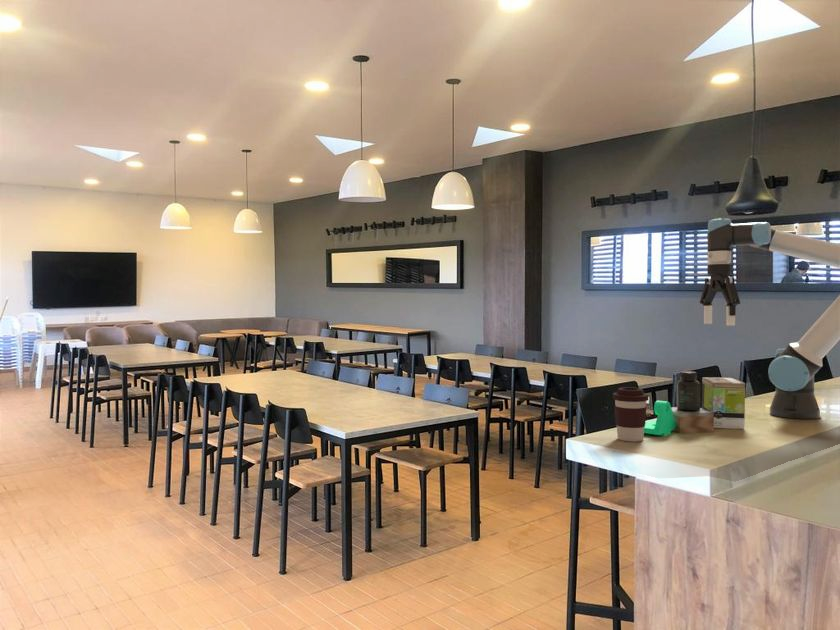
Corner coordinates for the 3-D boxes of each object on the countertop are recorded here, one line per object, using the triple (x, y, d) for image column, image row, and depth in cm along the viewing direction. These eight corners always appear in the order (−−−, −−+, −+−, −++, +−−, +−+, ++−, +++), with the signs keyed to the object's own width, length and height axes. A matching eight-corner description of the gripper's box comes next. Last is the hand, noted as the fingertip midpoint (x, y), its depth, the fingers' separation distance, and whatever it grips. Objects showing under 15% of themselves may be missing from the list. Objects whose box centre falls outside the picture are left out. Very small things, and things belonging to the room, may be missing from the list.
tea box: (745, 429, 202) (746, 382, 202) (711, 428, 204) (711, 382, 204) (732, 420, 217) (732, 376, 216) (700, 419, 219) (700, 376, 219)
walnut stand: (694, 424, 210) (694, 406, 210) (713, 431, 199) (713, 412, 199) (662, 426, 209) (662, 407, 208) (680, 433, 198) (680, 413, 198)
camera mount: (651, 428, 206) (651, 396, 205) (675, 432, 200) (675, 399, 200) (634, 435, 197) (634, 401, 197) (659, 438, 192) (659, 404, 191)
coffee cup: (608, 440, 188) (608, 389, 188) (617, 434, 197) (617, 385, 196) (644, 444, 183) (643, 392, 183) (651, 438, 192) (651, 387, 191)
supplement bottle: (683, 407, 208) (682, 370, 208) (704, 409, 203) (704, 371, 203) (672, 410, 204) (672, 372, 204) (694, 412, 199) (693, 373, 198)
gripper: (689, 265, 237) (689, 323, 237) (730, 261, 212) (730, 326, 213) (709, 265, 238) (708, 323, 238) (751, 261, 213) (751, 326, 214)
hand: (719, 324), depth 226 cm, fingers open, 13 cm apart
